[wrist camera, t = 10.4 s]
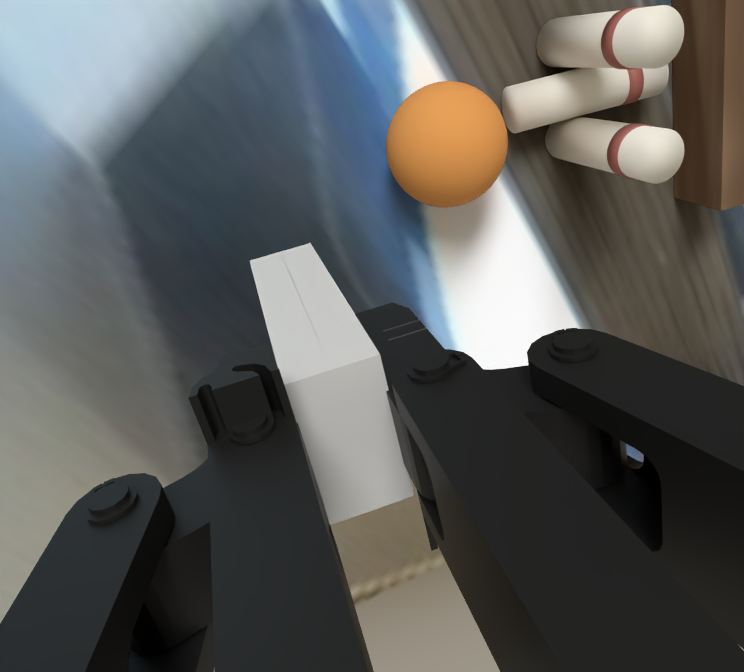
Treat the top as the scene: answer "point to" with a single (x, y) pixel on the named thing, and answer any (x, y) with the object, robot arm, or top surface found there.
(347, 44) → the top surface
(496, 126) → the orange ball
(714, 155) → the wall
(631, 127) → the pin
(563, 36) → the pin
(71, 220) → the top surface
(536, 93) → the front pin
